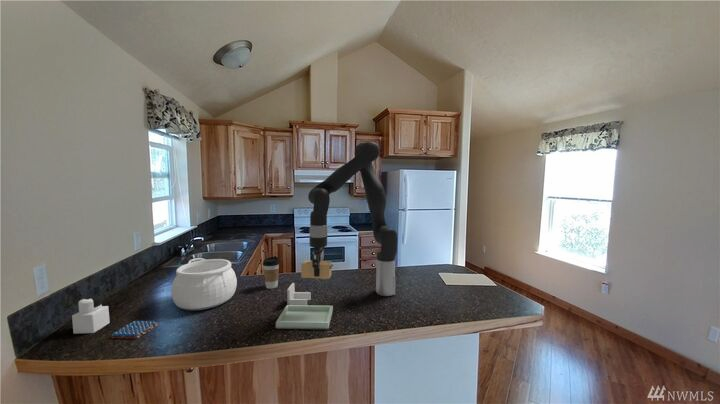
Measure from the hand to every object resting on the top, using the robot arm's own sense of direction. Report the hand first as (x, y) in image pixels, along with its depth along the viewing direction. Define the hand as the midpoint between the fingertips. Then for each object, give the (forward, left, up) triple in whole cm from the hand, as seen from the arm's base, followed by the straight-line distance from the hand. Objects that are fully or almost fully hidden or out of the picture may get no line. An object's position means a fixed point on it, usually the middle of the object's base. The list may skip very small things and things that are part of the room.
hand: (318, 273), depth 115 cm
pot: (+55, -8, -16) cm, 58 cm away
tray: (+4, +8, -16) cm, 18 cm away
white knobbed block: (+84, +17, -16) cm, 87 cm away
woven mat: (+66, +18, -17) cm, 70 cm away
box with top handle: (+1, 0, -1) cm, 1 cm away
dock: (+10, -6, -16) cm, 20 cm away
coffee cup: (+30, -25, -16) cm, 42 cm away
